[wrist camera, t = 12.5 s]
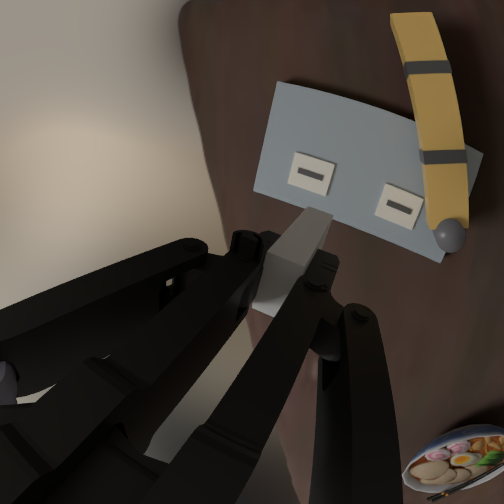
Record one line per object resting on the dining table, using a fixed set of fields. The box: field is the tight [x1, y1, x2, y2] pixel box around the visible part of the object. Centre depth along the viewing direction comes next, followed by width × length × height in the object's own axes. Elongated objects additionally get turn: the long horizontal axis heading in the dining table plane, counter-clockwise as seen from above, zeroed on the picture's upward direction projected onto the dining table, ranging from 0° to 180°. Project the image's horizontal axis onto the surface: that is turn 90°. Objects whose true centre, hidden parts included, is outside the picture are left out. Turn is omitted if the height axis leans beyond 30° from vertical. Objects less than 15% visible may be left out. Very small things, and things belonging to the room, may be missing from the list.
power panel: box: [253, 81, 483, 263], centre depth 29 cm, size 23×13×2 cm, turn 78°
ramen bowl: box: [402, 424, 504, 502], centre depth 33 cm, size 25×23×8 cm
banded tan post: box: [390, 12, 469, 253], centre depth 21 cm, size 22×4×5 cm, turn 14°
